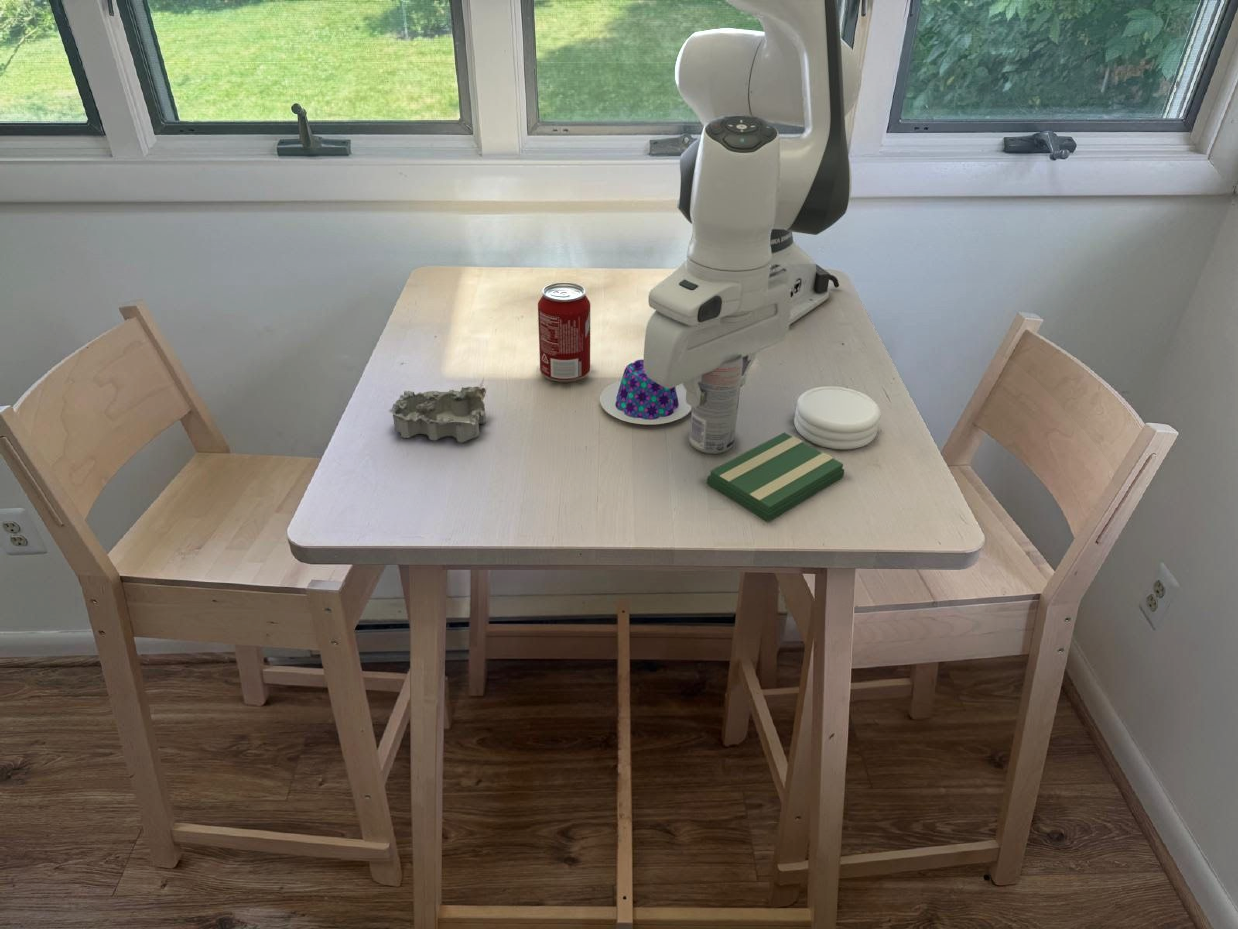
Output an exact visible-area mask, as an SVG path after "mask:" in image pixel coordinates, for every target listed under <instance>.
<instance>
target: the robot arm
mask: <svg viewBox="0 0 1238 929" xmlns="http://www.w3.org/2000/svg"><path fill="white" fill-rule="evenodd" d="M724 1H725V2H727V3H728V4H729V5H731V6H732V7H734V8H736V9H737V10H739V11H742V12H743V13H746V14H748V15H750V16H752V17H755V18H757V19H758V21H759V23H760V25H761V27H762V29H763V31H759V30H751V29H750V30H749V29H740V28H732V27H731V28H730V27H724V28H715V29H708V30H707V29H706V30H702V31H695V32H694V33H692V34H691V35H690V36H689V37H688V38H687V39H686V40H685V42H684V44H683V45H682V47H681V48H680V51H679V53H678V55H677V59H676V62H675V70H674V75H675V76H674V77H675V85H676V87H677V90H678V91H677V92H678V94H679V96H680V97H681V100H682V101H683V102H684V103H685V104H686V105H687V106H688V108H690V109H691V111H693V113H694V114H695V115H696V117H697V118H698V120H699V121H700V123H701V125H702V127H703V129H702V132H701V135H700V136H699V137H698V138H697V139H696V140H694V141H693V142H692V143H691V144H689V146H688V147H687V148H686V149H685V150H684V151H683V152H682V153H681V155H680V157H679V172H680V188H679V199H678V201H677V205H676V208H677V209H678V210H679V211H680V213H681V214H682V215H683V217H684V218H685V219H686V221H688V222H689V223H690V224H691V227H692V230H691V236H690V240H689V242H688V245H687V250H686V260H685V261H683V262H682V263H681V264H680V265H678V266H677V268H675V270H674V271H672V272H671V273H670V274H669V275H668V276H666V277H665V278H664V279H662V280H661V281H660V282H659V283H657V284H655V285H654V286H653V287H651V289H650V291H649V292H648V299H647V300H648V301H647V302H648V306H649V307H650V308H651V309H653V310H655V311H653V313H652V314H651V315H650V317H649V319H648V321H647V324H646V328H645V333H644V335H645V336H644V346H643V360H644V364H643V365H644V372H645V374H646V375H647V376H648V378H649V379H651V380H652V381H654V382H655V383H657V384H659V385H661V386H663V387H665V388H668V389H670V388H673V387H675V386H678V385H682V386H683V387H684V388H685V389H686V402H687V404H689V405H690V406H692V407H694V408H695V407H698V406H700V405H702V404H704V403H705V402H706V399H705V397H706V392H707V391H705V390H703V389H700V388H699V385H698V383H699V382H701V381H702V375H703V374H706V373H708V372H710V371H713V370H715V369H717V368H719V367H720V365H721V363H727V362H729V361H732V360H734V359H736V358H739V357H741V355H742V359H743V367H742V376H741V385H740V388H742V387H744V386H745V385H746V383H747V374H748V373H749V372H750V369H751V367H752V365H753V364H754V362H755V360H756V358H757V352H760V351H761V350H764V349H766V348H769V347H771V346H773V345H776V344H778V343H781V342H783V341H784V339H785V338H786V337H787V335H788V333H789V331H790V325H792V324H793V323H795V322H796V321H798V320H799V319H801V318H802V317H803V316H805V315H807V314H808V313H809V312H811V311H812V310H814V309H816V308H817V307H818V306H820V305H821V304H823V303H824V302H825V301H827V300H828V299H829V290H828V289H829V283H830V281H831V282H832V283H833V288H835V289H836V288H838V287H840V283H839V280H838V278H837V276H835V275H832V274H831V273H830V272H828V271H826V270H825V269H824V268H823V267H821V266H820V265H818V264H817V263H816V261H815V260H814V259H813V257H812V256H810V255H809V254H808V253H807V252H806V251H805V250H804V249H802V247H800V246H799V245H798V244H797V243H796V242H795V241H794V236H793V233H799V234H805V235H806V234H807V235H813V236H817V235H819V234H821V233H823V232H824V231H826V230H827V229H829V228H831V227H832V226H834V224H836V223H837V222H838V221H839V220H841V218H843V217H844V215H845V214H846V213H847V210H848V206H849V203H850V199H851V195H852V189H853V188H852V187H853V178H852V168H851V163H850V158H849V150H848V141H847V140H848V139H847V130H846V116H847V115H849V113H850V112H851V111H852V109H853V108H854V106H855V104H856V102H857V101H858V98H859V95H860V91H861V87H862V86H861V85H862V70H861V65H860V62H859V59H858V57H857V54H856V53H855V51H854V50H853V49H852V47H851V46H849V45H848V43H846V41H845V40H843V39H842V38H841V37H842V36H841V25H840V14H839V1H838V0H724ZM773 124H780V125H785V126H793V127H800V128H804V130H803V132H802V133H801V134H800V135H797V136H780V133H779V130H778V129H777V128H776V126H775V125H773Z"/></svg>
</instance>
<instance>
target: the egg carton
mask: <svg viewBox="0 0 1238 929" xmlns="http://www.w3.org/2000/svg"><path fill="white" fill-rule="evenodd" d="M486 393H487V390H486V388H485V387H478V386H473V387H472V386H465V387H461V389H460V391H459V390H454V389H450V390H449V391H438V390H432V391H425V392H417V393H416V394H415V392H414V391H411V390H407V391H406V390H404V393H403V394H400V395H399V398H398V399H397V400H396V402H395V403H393V405H392V406H391V408H390V409H389V410H388V412H389V413H391V414H392V418H393V425H394V431H395V432H398V433H399V434H400V436H401V438H402V439H410V438H412V437H413V436H416V435H426V436H428V440H430V441H438V440H440V439H441V438H444V437H454V438H455V439H456V442H457V443H465V442H467V441H470V440H472V439H476V438H478V437H479V435H480V425H481V424H485V422H486V421H487V418H486V417H487V416H486V407H485V406H486V405H485V402H484V399H485V397H486Z"/></svg>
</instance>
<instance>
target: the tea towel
mask: <svg viewBox="0 0 1238 929" xmlns="http://www.w3.org/2000/svg"><path fill="white" fill-rule="evenodd" d="M843 467H844V463H842V462H840V461H838V460H837V459H835V458H834V456H831V455H829V454H828V453H826V452H822V451H820V450H818V449H816V448H815V447H813V446H811V445H809V444H807V443H805V442H804V440H801V439H799V438H798V437H796V436H792V435H790V434H788V433H787V432H782V433H780V434H778V435H776V436H774V437H773V438H771V439H769V440H767V441H765V442H763V443H760V444H759V445H757V446H755V447H753V448H751V449H750V450H747V451H745V452H744V453H742V454H740V455H738V456H736V457H734V458H732V459H731V460H728V461H727V462H724V463H723V464H721V465H719V466H716V467H715V468H712V469H711V470H710V472H709V475H707V478H706V484H707V485H708V486H710V487H711V488H713V489H714V490H716V491H717V492H719V493H721V494H722V495H724V496H725V497H727V498H729V499H730V500H732V501H734V502H735V503H737V504H739V505H740V506H742V507H744V508H745V509H747V510H748V511H749V512H751V513H753V514H755V515H756V516H758V517H759V518H761V519H763V520H764V521H765V522H770V521H772V520H774V519H775V518H777V517H779V516H781V515H782V514H784V513H785V512H787V511H789V510H790V509H793V508H794V507H795V506H797V505H799V504H800V503H802V502H804V501H805V500H807V499H809V498H810V497H813V496H814V495H815V494H818V493H819V492H820V491H822V490H824V489H825V488H827V487H829V486H830V485H832V484H833V483H836V482H837V481H838V480H840V479H842V478H844V475H845V469H844V468H843Z"/></svg>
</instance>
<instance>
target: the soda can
mask: <svg viewBox="0 0 1238 929" xmlns="http://www.w3.org/2000/svg"><path fill="white" fill-rule="evenodd" d="M541 292H542V293H541V294H542V296H541V297H540V298H539V300H538V301H537V318H538V319H537V322H538V349H539V350H538V351H539V352H538V353H539V354H538V355H539V372H540V374H541V375H542V376H543V377H545V378H546V379H548V380H551V381H553V382H556V383H561V384H562V383H563V384H564V383H567V384H569V383H573V382H577V381H580V380H581V379H584V378H585V377H587V376H588V375H589V374H590V372H591V301H590V300H589V298H588V296H587V295H586V288H584V286H582V285H580V284H578V283H575V282H566V281H565V282H563V281H560V282H553V283H550V284H547V285H546V286H544V287H543V288H542V291H541Z"/></svg>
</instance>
